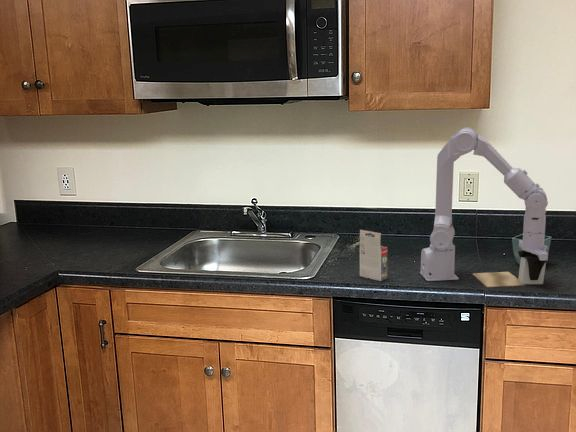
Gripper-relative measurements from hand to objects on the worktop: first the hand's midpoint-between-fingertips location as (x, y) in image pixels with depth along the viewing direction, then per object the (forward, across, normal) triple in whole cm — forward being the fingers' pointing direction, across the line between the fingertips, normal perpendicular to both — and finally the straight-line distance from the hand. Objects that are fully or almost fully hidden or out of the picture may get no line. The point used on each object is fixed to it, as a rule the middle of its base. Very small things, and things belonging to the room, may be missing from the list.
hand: (531, 277), depth 186 cm
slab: (+1, 0, 0) cm, 1 cm away
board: (+2, +4, +8) cm, 9 cm away
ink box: (+2, +12, +43) cm, 45 cm away
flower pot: (+2, +16, -7) cm, 18 cm away
